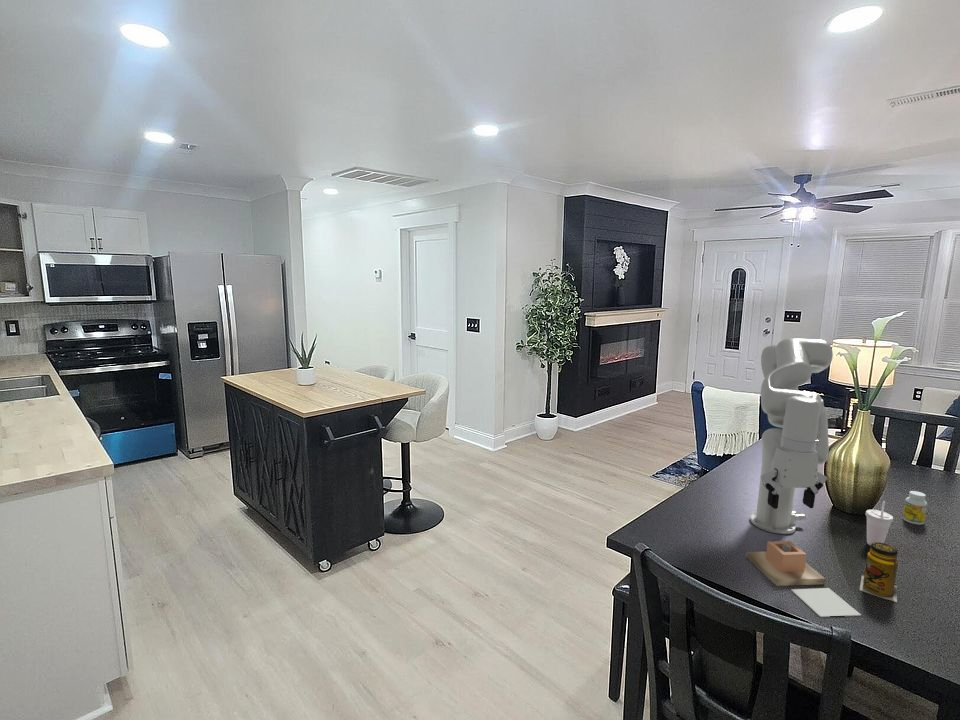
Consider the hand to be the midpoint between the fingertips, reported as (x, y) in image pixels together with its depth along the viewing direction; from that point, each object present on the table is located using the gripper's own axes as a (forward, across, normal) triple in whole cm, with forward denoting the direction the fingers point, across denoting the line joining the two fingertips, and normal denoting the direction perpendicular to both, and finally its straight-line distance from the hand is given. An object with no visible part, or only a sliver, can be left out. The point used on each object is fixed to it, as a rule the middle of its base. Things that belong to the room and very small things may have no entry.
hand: (790, 506), depth 131 cm
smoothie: (+18, -36, -11) cm, 42 cm away
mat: (+18, -2, +14) cm, 23 cm away
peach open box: (+17, 0, 0) cm, 17 cm away
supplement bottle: (+18, -61, -25) cm, 68 cm away
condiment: (+19, -20, +9) cm, 28 cm away
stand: (+18, 0, 0) cm, 18 cm away
